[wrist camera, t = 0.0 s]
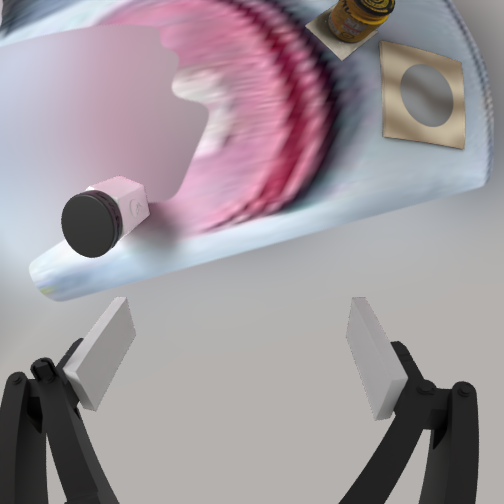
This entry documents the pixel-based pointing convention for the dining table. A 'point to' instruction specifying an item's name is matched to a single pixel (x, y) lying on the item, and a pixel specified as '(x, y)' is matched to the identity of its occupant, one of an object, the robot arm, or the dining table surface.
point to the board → (422, 96)
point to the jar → (103, 215)
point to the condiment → (350, 24)
